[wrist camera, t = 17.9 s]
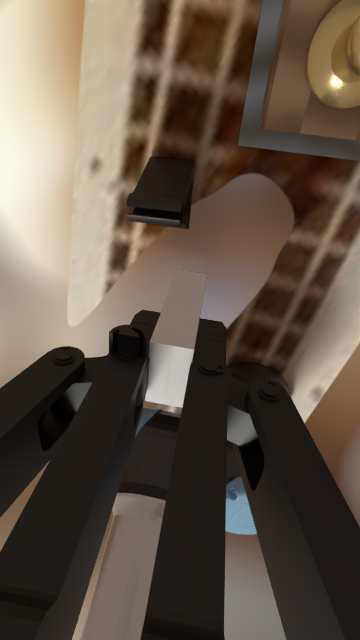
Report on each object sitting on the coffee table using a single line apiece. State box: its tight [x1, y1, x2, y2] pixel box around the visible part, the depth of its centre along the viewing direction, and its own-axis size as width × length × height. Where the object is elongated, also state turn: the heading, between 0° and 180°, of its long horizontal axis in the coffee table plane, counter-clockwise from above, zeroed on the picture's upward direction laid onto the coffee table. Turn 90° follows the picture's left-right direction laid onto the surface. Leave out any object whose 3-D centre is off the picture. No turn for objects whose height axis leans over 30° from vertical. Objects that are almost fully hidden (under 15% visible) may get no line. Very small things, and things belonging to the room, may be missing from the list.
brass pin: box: [305, 0, 360, 109], centre depth 27 cm, size 8×8×16 cm
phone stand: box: [127, 157, 195, 229], centre depth 40 cm, size 9×6×12 cm, turn 175°
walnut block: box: [238, 0, 360, 161], centre depth 32 cm, size 16×16×10 cm
